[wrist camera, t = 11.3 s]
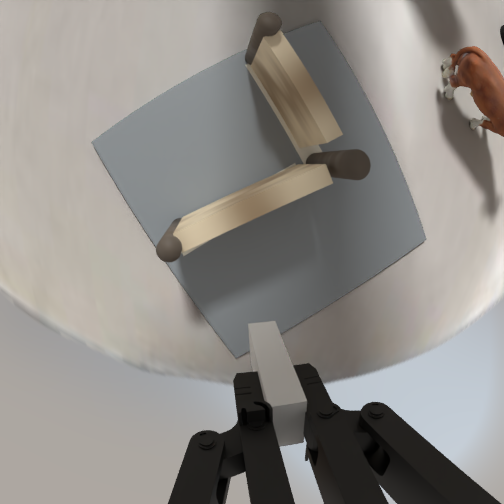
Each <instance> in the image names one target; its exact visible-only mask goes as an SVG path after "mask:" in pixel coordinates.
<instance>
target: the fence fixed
mask: <svg viewBox="0 0 504 504" xmlns="http://www.w3.org/2000/svg"><path fill="white" fill-rule="evenodd" d="M281 25H282V21H281V19H280V17H279V16H278V15H277V14H275V13H272V12H265V13H262V14H261V15H259V17H258V19H257V22H256V25H255V28H254V30H253V33H252V36H251V39H250V42H249V45H248V48H247V51H246V54H245V60H246V62H247V63H248V64H250V65H251V68H252V69H253V71H254V72H255V74H256V75H257V77H258V79H259V80H260V82H261V83H262V85H263V87H264V88H265V90H266V91H267V93H268V95H269V96H270V98H271V100H272V101H273V103H274V105H275V106H276V108H277V110H278V111H279V113H280V115H281V116H282V118H283V120H284V121H285V123H286V125H287V127H288V128H289V130H290V132H291V134H292V135H293V137H294V139H295V141H296V142H297V144H298V146H299V148H302V147H308V146H313V145H319V144H324V143H328V142H330V141H332V140H334V139H336V138H338V137H339V136H341V135H343V133H342V131H341V129H340V127H339V126H338V124H337V122H336V120H335V118H334V116H333V114H332V113H331V111H330V109H329V107H328V105H327V104H326V102H325V100H324V98H323V97H322V95H321V93H320V91H319V90H318V88H317V86H316V85H315V83H314V81H313V80H312V78H311V76H310V75H309V73H308V71H307V70H306V68H305V67H304V65H303V63H302V62H301V60H300V59H299V57H298V56H297V54H296V53H295V51H294V49H293V48H292V46H291V45H290V43H289V42H288V40H287V39H286V38H285V36H284V35H283V33H282V32H281V30H280V31H279V29H280V27H281ZM306 164H326V166H327V168H328V171H329V173H330V176H331V177H333V178H342V179H349V180H362V179H364V178H365V177H366V176H367V175H368V174H369V172H370V167H371V164H370V159H369V157H368V156H367V154H366V153H365V152H363V151H362V150H359V149H351V150H339V151H329V152H319V153H313V154H311V155H309V156H308V158H307V160H306Z"/></svg>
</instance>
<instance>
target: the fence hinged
mask: <svg viewBox="0 0 504 504" xmlns="http://www.w3.org/2000/svg"><path fill="white" fill-rule="evenodd" d="M331 184H333V181H332V178H331V176H330V173H329V171H328V168H327V166H326V164H298V165H295V166H293V167H291V168H288V169H286V170H284V171H281V172H279V173H277V174H274V175H272V176H270V177H267V178H265V179H263V180H261V181H258V182H256V183H254V184H252V185H250V186H247V187H245V188H243V189H241V190H239V191H236V192H234V193H232V194H230V195H228V196H226V197H223V198H221V199H219V200H217V201H215V202H213V203H211V204H209V205H207V206H204V207H202V208H200V209H198V210H196V211H194V212H192V213H190V214H188V215H186V216H184V217H182V218H177V219H175V220H174V221H173V222H172V223H171V225H170V226H169V228H168V229H167V231H166V232H165V233H164V235H163V236H162V238H161V239H160V241H159V242H158V244H157V247H156V252H157V255H158V257H159V258H160V259H161V260H162V261H164V262H174V261H176V260H177V259H178V258H179V257H180V255H181V252H182V253H183V252H185V251H187V250H189V249H192V248H194V247H196V246H198V245H200V244H202V243H204V242H206V241H208V240H210V239H213V238H215V237H217V236H219V235H221V234H223V233H225V232H227V231H229V230H232V229H234V228H236V227H238V226H240V225H242V224H244V223H247V222H249V221H251V220H253V219H255V218H257V217H260V216H262V215H264V214H266V213H268V212H270V211H273V210H275V209H277V208H279V207H281V206H284V205H286V204H288V203H290V202H292V201H295V200H297V199H299V198H301V197H304V196H306V195H308V194H310V193H313V192H315V191H317V190H319V189H322V188H324V187H326V186H328V185H331Z"/></svg>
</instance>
